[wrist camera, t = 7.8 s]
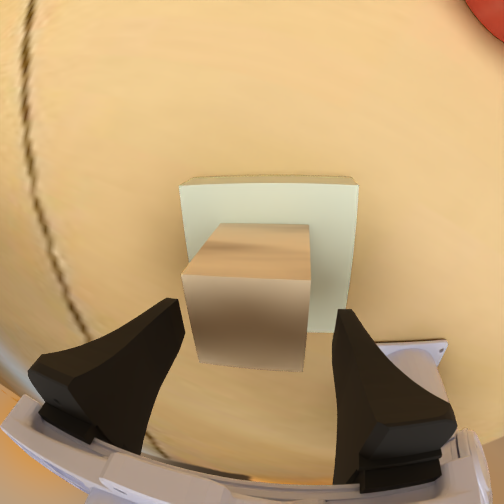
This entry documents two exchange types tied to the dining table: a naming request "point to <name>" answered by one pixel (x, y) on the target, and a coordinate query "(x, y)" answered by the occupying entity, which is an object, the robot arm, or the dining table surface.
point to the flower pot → (489, 15)
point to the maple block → (251, 296)
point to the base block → (284, 212)
